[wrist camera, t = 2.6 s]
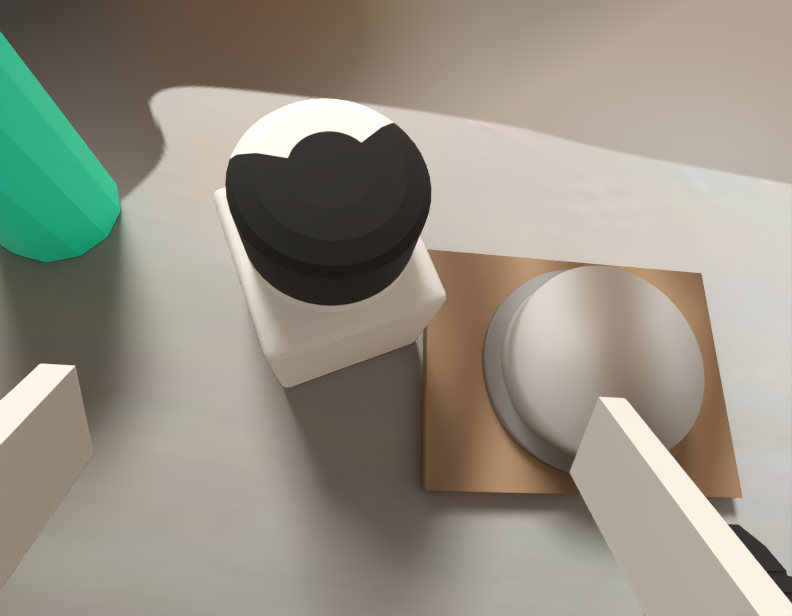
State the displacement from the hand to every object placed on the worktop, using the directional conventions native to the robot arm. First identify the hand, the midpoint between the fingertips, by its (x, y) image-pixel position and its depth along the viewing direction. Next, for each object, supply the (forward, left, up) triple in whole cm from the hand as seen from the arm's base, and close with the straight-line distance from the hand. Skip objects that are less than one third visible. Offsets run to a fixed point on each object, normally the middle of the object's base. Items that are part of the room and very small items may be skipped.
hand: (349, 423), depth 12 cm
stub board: (+12, +4, -11) cm, 17 cm away
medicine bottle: (-1, +7, -11) cm, 13 cm away
